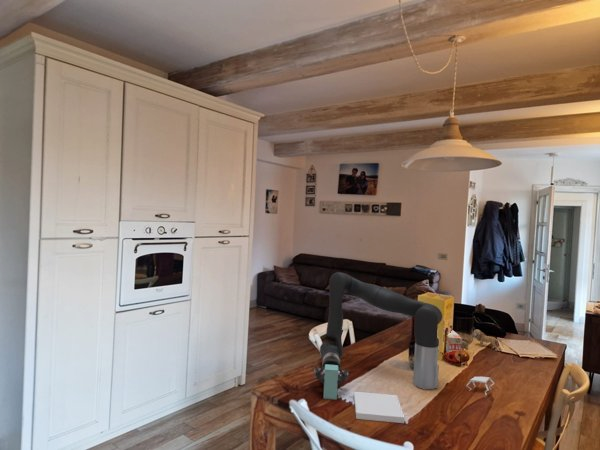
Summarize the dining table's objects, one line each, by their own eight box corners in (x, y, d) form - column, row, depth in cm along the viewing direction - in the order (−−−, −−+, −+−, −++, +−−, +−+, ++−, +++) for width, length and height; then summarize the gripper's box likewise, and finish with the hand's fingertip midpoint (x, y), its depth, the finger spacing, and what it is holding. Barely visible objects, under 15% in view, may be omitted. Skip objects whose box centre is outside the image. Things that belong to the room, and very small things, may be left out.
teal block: (336, 393, 148) (338, 365, 147) (336, 399, 143) (338, 370, 142) (323, 392, 148) (325, 364, 148) (323, 398, 143) (324, 369, 143)
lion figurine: (471, 345, 214) (472, 329, 213) (473, 343, 218) (474, 327, 218) (500, 352, 205) (501, 335, 205) (502, 349, 209) (503, 333, 209)
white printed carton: (434, 346, 209) (435, 324, 209) (446, 347, 209) (447, 325, 208) (447, 361, 187) (449, 336, 187) (460, 362, 187) (462, 337, 187)
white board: (396, 400, 144) (396, 395, 144) (404, 423, 128) (404, 417, 128) (353, 396, 146) (354, 391, 146) (356, 418, 130) (356, 413, 130)
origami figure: (483, 398, 150) (484, 386, 150) (464, 389, 157) (465, 377, 157) (500, 391, 157) (501, 379, 156) (481, 383, 164) (481, 372, 163)
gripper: (314, 354, 160) (312, 370, 143) (348, 356, 159) (350, 373, 142) (313, 371, 160) (311, 390, 143) (348, 374, 159) (349, 393, 142)
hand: (331, 381), depth 143 cm, fingers closed on teal block, 5 cm apart
